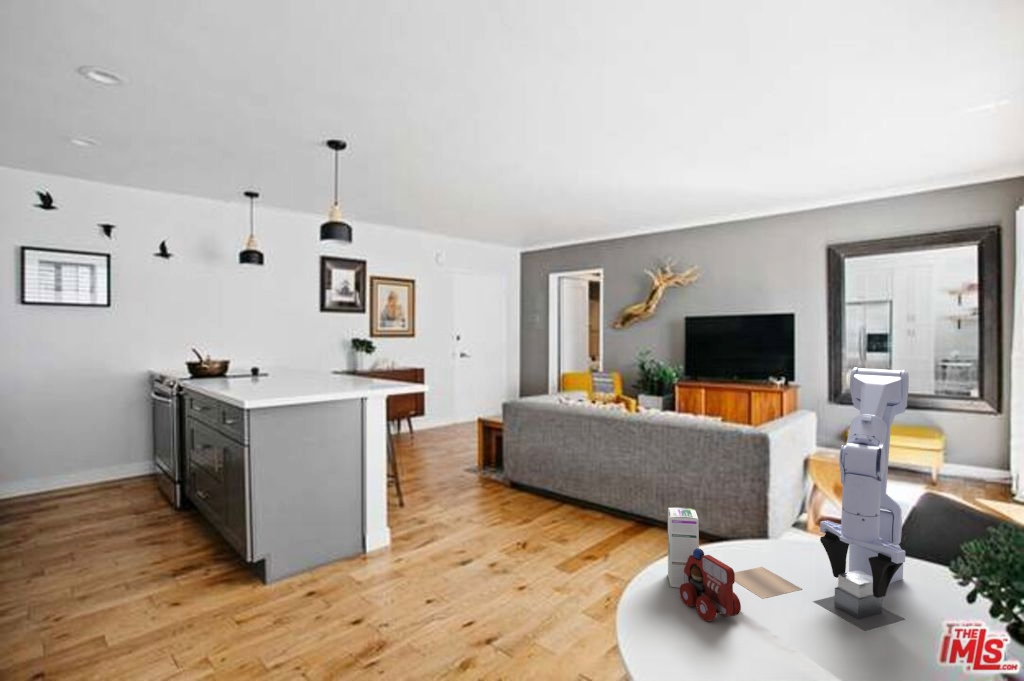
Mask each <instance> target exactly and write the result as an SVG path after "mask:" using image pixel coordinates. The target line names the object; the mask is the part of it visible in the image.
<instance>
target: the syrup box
mask: <svg viewBox="0 0 1024 681" xmlns="http://www.w3.org/2000/svg"><path fill="white" fill-rule="evenodd" d="M699 521H700V519H699V517H698V514H697V512H696V509H695V508H690V507H668V508H667V577H668V581H669V582H668V583H669V586H670V587H673V588H678V589H680V586H681V585H682V584H684V568H685V566H686V563H687V561H688V558H689V556H690V555H693V551H694V550H695V549H697V548H699V549H700V539H699V538H700V536H699V532H700V531H699V530H700V529H699V528H700V526H699V524H700V522H699Z"/></svg>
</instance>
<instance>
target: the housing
mask: <svg viewBox="0 0 1024 681" xmlns="http://www.w3.org/2000/svg"><path fill="white" fill-rule="evenodd" d="M837 580H838V581H837V582H838V584H837V587H834V596H835V601H834V607H836V608H837V609H839V610H841V611H843V612H845V613H847V614H848V615H850V616H852V617H854V618H856V619H857V620H859V619H863V618H866V617H870V616H874V615H877V614H881V613H882V607H883V597H880V598H876V597H874V595H873V577H872V576H870V575H868V574H865V573H863V572H861V571H859V570H856V571H852V572H849V571H848V572H845V573H843V574H839V575H838V579H837Z"/></svg>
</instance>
